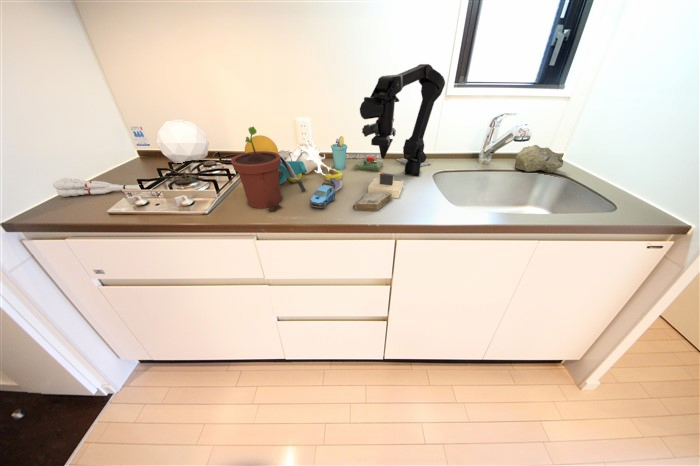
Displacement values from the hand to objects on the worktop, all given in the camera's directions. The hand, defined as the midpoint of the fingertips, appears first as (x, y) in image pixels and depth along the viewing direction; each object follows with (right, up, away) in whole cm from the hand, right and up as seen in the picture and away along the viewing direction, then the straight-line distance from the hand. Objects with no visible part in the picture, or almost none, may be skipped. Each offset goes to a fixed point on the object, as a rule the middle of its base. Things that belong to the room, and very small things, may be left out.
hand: (382, 158), depth 100 cm
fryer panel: (+1, -13, -1) cm, 13 cm away
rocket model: (-123, -13, -8) cm, 123 cm away
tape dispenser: (-37, -9, -1) cm, 38 cm away
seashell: (-39, +4, +12) cm, 41 cm away
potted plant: (-42, -18, -8) cm, 46 cm away
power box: (-3, +2, +23) cm, 23 cm away
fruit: (-37, -8, +6) cm, 39 cm away
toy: (-62, +5, +17) cm, 65 cm away
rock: (+75, +4, +13) cm, 76 cm away
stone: (-5, -20, -10) cm, 23 cm away
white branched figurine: (-29, +4, +11) cm, 31 cm away
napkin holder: (+20, +7, +30) cm, 37 cm away
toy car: (-23, -19, -10) cm, 32 cm away
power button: (-3, +5, +21) cm, 21 cm away
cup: (-19, +1, +22) cm, 28 cm away
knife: (-20, -9, +6) cm, 23 cm away
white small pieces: (-38, +9, +13) cm, 41 cm away
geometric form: (-102, +10, +31) cm, 107 cm away
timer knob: (+1, -11, -2) cm, 11 cm away
